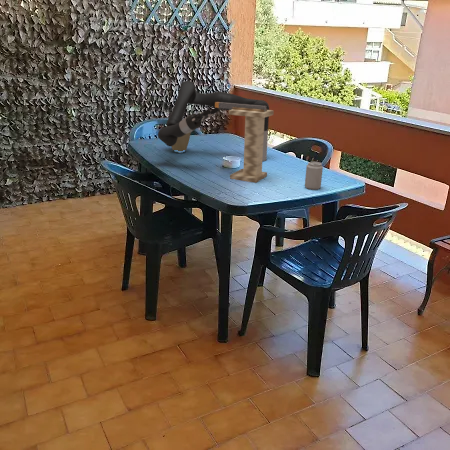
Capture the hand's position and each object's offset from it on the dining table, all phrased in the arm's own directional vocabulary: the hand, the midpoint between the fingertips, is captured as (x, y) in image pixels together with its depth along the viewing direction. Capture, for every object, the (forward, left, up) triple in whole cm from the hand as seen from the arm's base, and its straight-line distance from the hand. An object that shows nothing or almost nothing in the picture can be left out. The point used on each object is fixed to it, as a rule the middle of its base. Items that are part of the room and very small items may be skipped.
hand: (214, 109), depth 225 cm
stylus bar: (+10, +10, +1) cm, 14 cm away
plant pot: (-50, -7, -32) cm, 60 cm away
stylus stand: (+14, +14, -32) cm, 38 cm away
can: (+38, +37, -32) cm, 62 cm away
